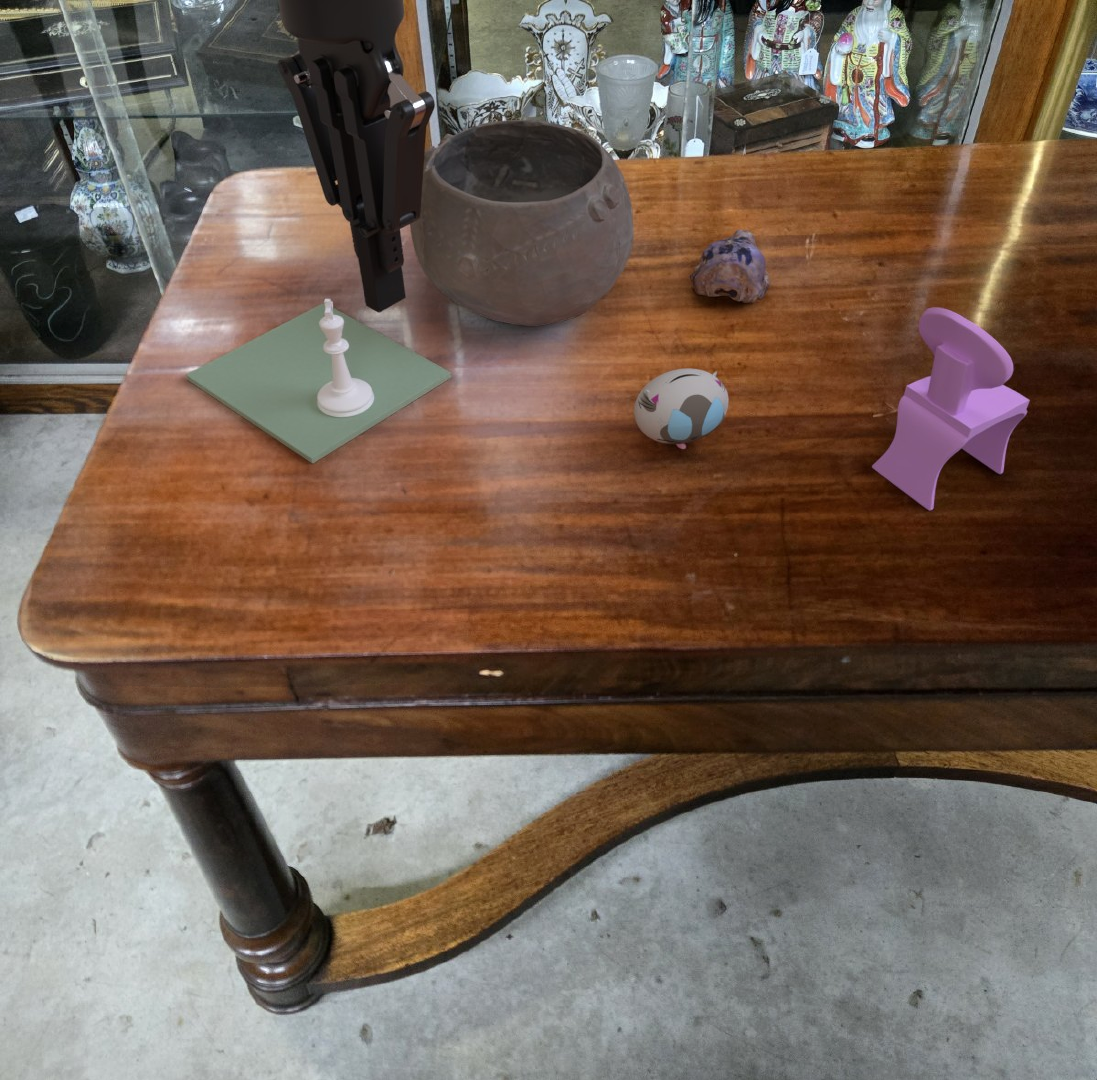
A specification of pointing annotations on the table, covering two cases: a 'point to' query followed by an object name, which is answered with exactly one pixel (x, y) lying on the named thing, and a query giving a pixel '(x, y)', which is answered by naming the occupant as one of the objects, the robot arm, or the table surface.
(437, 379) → the mat
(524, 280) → the clay pot
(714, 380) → the figurine
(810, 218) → the table surface
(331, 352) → the chess piece
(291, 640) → the table surface
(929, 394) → the toy chair
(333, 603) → the table surface
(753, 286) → the purple rounded piece
